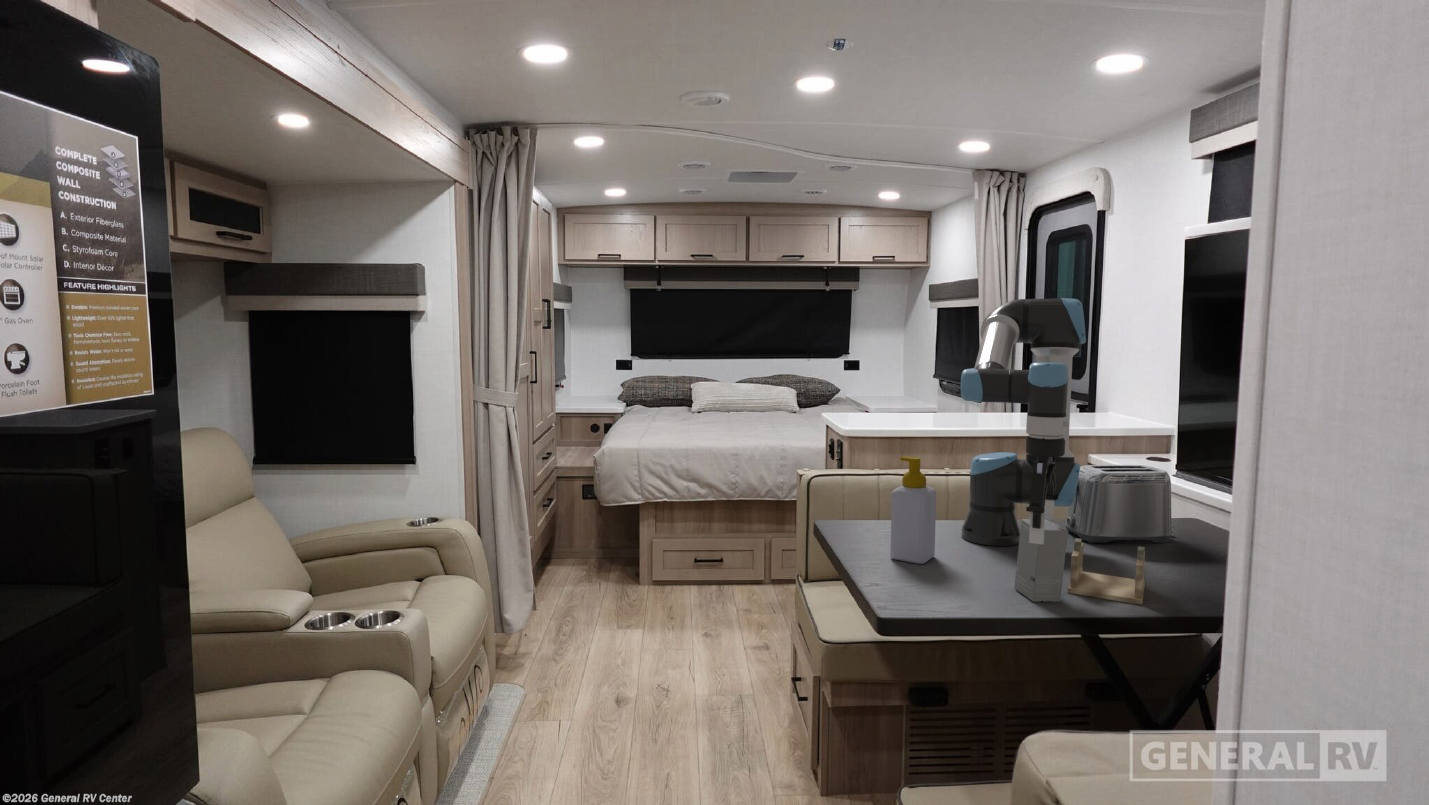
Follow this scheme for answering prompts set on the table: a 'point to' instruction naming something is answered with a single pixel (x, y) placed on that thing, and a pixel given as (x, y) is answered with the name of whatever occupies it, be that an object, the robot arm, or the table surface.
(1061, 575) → the skincare box
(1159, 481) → the toaster
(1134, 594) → the holder
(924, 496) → the soap bottle
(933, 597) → the table surface
